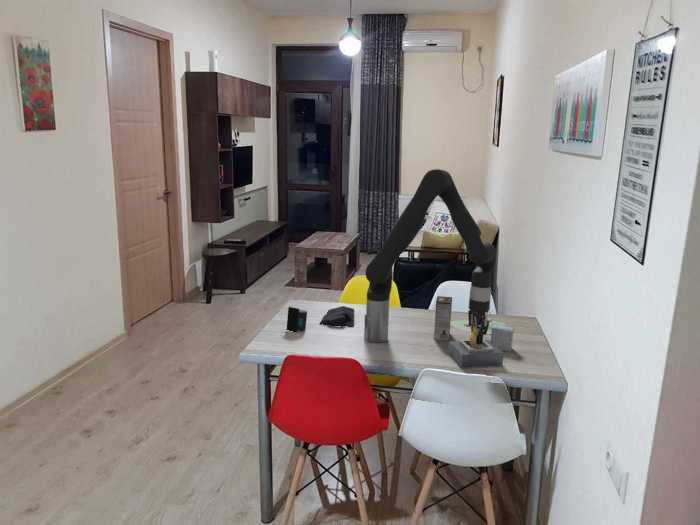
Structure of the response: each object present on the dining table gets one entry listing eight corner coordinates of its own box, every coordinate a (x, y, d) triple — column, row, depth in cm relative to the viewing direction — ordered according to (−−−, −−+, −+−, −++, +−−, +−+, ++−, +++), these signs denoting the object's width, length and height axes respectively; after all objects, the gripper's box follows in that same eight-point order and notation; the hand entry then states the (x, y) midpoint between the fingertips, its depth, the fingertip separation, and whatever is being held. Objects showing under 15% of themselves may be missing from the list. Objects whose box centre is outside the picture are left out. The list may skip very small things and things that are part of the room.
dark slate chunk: (358, 313, 261) (359, 303, 260) (353, 329, 240) (353, 318, 239) (326, 311, 263) (326, 301, 262) (318, 326, 242) (318, 316, 241)
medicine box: (512, 348, 222) (514, 327, 220) (510, 352, 218) (512, 331, 216) (492, 344, 225) (493, 324, 223) (489, 348, 221) (491, 327, 219)
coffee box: (434, 331, 238) (436, 295, 235) (449, 333, 237) (452, 296, 234) (433, 339, 230) (435, 301, 226) (449, 340, 228) (451, 303, 225)
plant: (450, 334, 238) (452, 313, 236) (446, 318, 258) (448, 299, 256) (510, 337, 236) (512, 316, 234) (501, 321, 256) (503, 302, 254)
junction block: (461, 367, 202) (462, 351, 201) (448, 353, 214) (449, 338, 213) (502, 365, 205) (503, 349, 204) (487, 352, 217) (488, 336, 216)
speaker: (293, 334, 230) (295, 309, 229) (286, 330, 235) (287, 306, 233) (308, 332, 235) (310, 308, 234) (300, 329, 240) (302, 305, 238)
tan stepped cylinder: (472, 346, 206) (474, 329, 204) (467, 341, 210) (469, 325, 209) (485, 345, 206) (486, 329, 205) (479, 340, 211) (481, 324, 210)
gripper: (462, 292, 210) (459, 335, 214) (478, 303, 197) (474, 349, 201) (481, 291, 212) (478, 334, 216) (498, 303, 198) (493, 348, 202)
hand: (476, 341), depth 208 cm, fingers closed on tan stepped cylinder, 4 cm apart
